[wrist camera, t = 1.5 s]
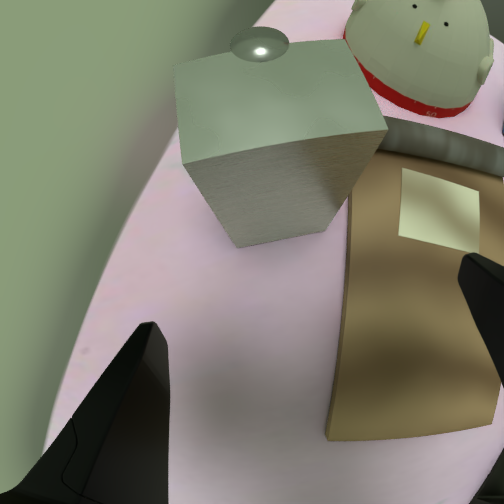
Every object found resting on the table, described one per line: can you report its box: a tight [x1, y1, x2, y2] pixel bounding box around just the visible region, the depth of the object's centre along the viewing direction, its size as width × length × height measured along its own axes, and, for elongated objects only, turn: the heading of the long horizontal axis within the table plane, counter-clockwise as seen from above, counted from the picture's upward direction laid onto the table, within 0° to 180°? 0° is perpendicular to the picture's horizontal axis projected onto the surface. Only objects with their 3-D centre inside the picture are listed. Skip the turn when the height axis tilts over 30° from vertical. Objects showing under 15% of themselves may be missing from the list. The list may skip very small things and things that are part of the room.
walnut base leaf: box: [325, 116, 504, 441], centre depth 18 cm, size 22×14×4 cm, turn 174°
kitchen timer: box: [343, 0, 494, 118], centre depth 16 cm, size 14×14×15 cm
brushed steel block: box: [173, 27, 388, 248], centre depth 15 cm, size 5×6×13 cm
